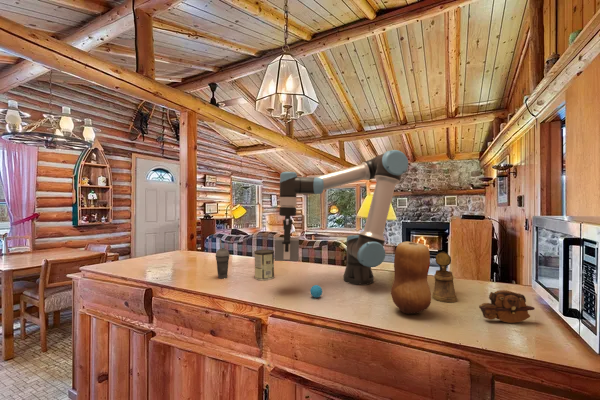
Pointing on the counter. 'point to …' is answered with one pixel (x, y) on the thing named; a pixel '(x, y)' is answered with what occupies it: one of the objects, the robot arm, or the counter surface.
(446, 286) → the brown pawn shape
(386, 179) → the robot arm
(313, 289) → the ball
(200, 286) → the counter surface
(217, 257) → the beverage cup
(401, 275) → the butternut squash
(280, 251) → the grey cubic block
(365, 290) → the counter surface
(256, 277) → the coffee can
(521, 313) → the wooden carving
